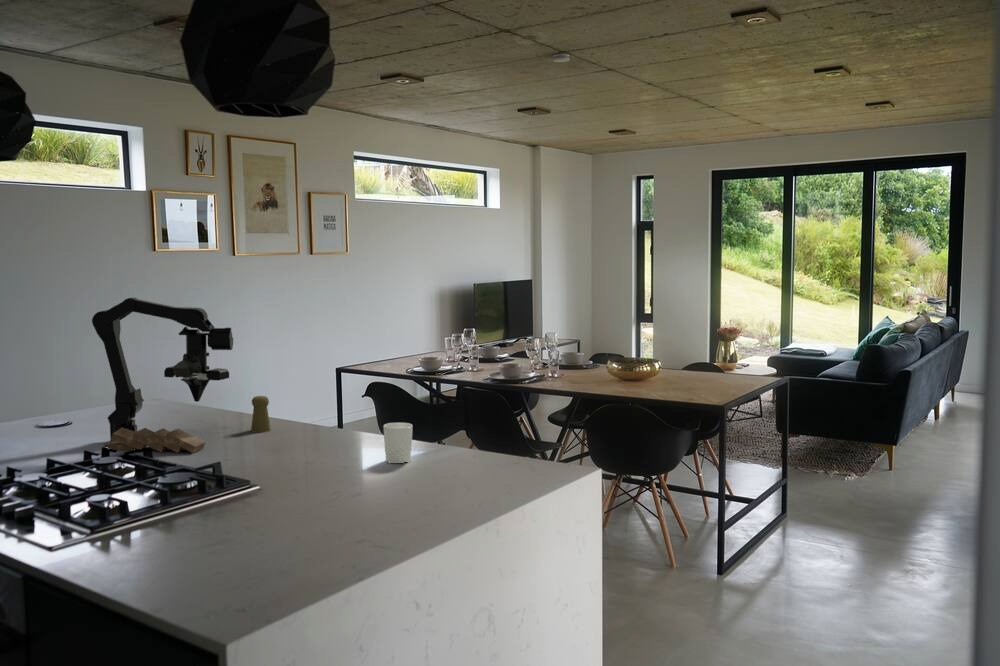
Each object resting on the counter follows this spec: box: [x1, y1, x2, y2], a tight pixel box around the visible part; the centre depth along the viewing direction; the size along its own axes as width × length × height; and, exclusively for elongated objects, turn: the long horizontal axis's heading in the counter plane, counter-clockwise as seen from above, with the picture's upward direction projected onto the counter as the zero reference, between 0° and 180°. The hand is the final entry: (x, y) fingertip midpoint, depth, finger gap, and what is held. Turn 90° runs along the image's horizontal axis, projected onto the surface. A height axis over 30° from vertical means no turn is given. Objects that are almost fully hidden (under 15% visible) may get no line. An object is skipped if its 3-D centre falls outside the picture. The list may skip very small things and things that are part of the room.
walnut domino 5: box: [165, 428, 206, 454], centre depth 228 cm, size 2×6×9 cm
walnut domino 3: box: [132, 427, 169, 453], centre depth 229 cm, size 2×6×9 cm
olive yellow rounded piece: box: [250, 395, 271, 433], centre depth 255 cm, size 6×6×11 cm
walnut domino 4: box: [150, 428, 186, 453], centre depth 228 cm, size 2×6×9 cm
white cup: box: [383, 422, 413, 464], centre depth 219 cm, size 8×8×10 cm
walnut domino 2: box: [110, 428, 148, 450], centre depth 229 cm, size 2×6×9 cm
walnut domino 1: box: [103, 441, 137, 452], centre depth 231 cm, size 2×6×9 cm
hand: (197, 401), depth 241 cm, fingers closed
